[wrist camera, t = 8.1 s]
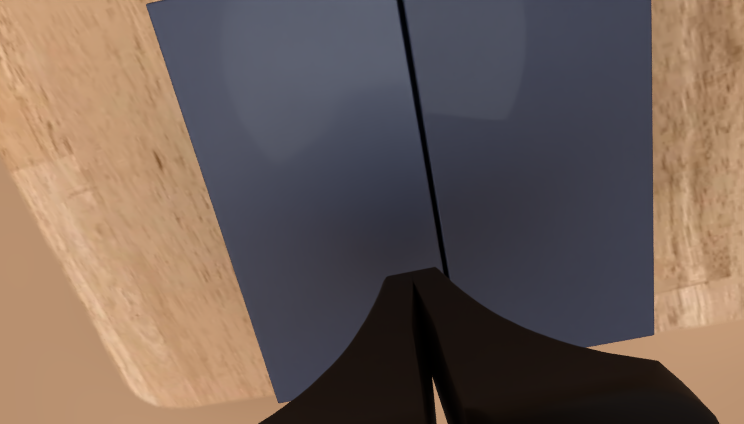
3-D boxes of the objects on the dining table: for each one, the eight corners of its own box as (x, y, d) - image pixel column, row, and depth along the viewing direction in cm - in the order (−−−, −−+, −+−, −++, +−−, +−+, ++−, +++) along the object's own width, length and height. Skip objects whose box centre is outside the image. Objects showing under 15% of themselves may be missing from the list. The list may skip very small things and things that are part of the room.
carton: (567, 248, 23) (657, 336, 16) (301, 299, 23) (276, 405, 16) (545, -55, 19) (654, -114, 12) (220, 17, 19) (141, 2, 12)
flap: (458, 362, 17) (460, 369, 16) (279, 396, 17) (278, 404, 16) (387, -48, 12) (388, -52, 12) (151, 5, 13) (145, 3, 12)
